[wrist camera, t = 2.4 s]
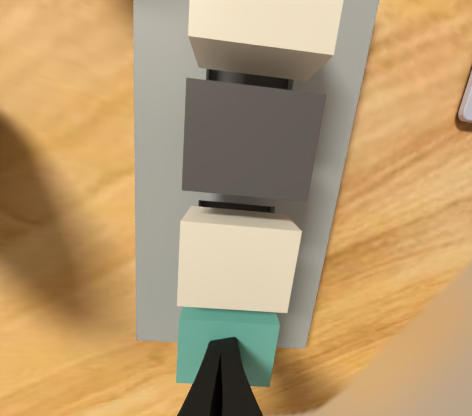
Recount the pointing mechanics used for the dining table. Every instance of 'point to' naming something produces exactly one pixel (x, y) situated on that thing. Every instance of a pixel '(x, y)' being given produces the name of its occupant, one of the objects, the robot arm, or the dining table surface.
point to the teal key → (224, 326)
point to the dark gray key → (250, 140)
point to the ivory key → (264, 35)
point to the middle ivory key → (236, 259)
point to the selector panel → (179, 202)
